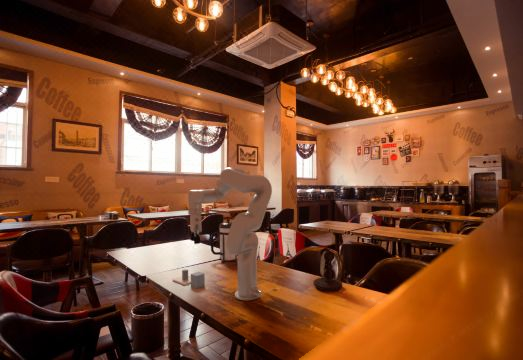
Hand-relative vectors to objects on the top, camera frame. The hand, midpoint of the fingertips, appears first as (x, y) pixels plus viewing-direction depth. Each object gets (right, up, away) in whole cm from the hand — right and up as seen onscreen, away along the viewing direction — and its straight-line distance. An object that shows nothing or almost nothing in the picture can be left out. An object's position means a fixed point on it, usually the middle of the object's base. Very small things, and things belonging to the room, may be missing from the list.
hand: (195, 241), depth 159 cm
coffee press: (+13, -23, +42) cm, 50 cm away
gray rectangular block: (+3, -23, -6) cm, 24 cm away
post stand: (-6, -23, +2) cm, 24 cm away
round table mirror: (+72, -22, -11) cm, 76 cm away
